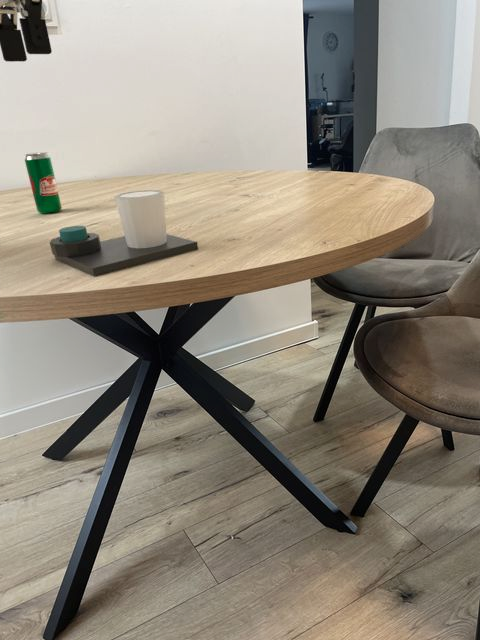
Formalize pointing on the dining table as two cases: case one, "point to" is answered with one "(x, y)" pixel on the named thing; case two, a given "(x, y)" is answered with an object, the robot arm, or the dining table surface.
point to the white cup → (142, 218)
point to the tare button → (73, 233)
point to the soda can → (43, 182)
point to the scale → (114, 253)
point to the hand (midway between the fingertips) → (27, 57)
